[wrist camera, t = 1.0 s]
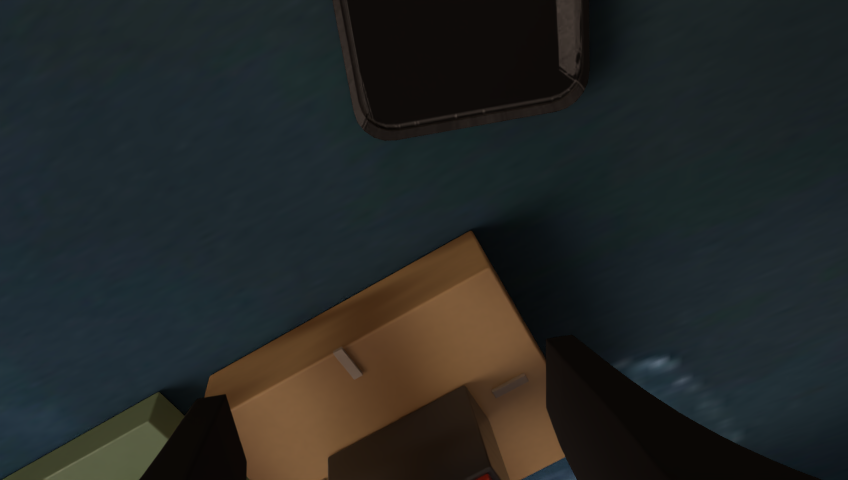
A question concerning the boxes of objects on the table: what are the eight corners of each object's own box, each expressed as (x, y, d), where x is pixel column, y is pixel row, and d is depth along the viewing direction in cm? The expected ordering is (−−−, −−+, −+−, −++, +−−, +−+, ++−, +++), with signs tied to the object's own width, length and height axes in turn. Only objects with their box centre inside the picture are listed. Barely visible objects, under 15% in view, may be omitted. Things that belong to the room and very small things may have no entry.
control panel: (343, 512, 29) (346, 574, 26) (207, 373, 24) (192, 430, 21) (567, 396, 28) (595, 448, 25) (469, 226, 23) (490, 267, 20)
